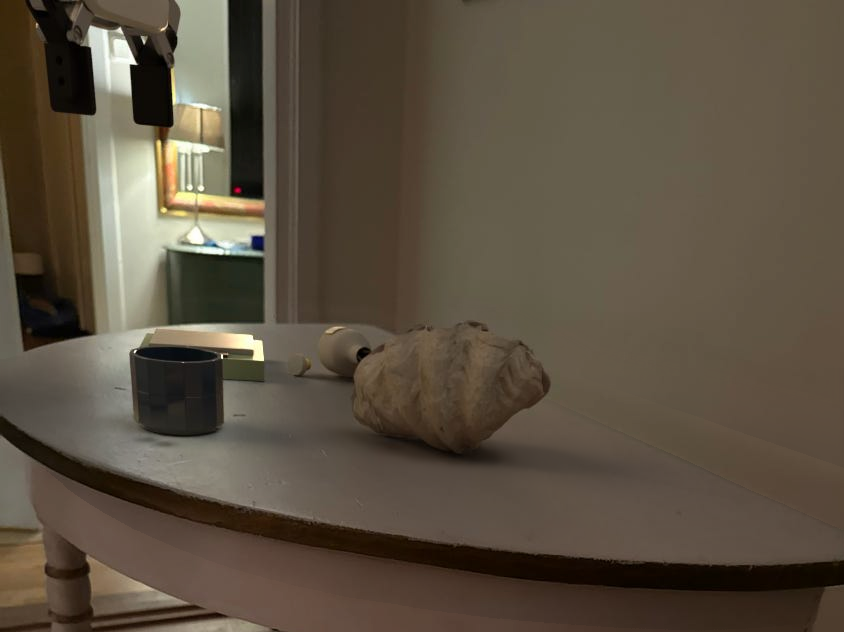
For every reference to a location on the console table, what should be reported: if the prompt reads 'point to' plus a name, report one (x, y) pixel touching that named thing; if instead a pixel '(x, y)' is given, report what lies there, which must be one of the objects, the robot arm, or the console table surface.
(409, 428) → the seashell
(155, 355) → the cup
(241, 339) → the scale
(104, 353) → the console table surface
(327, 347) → the jar with stopper
